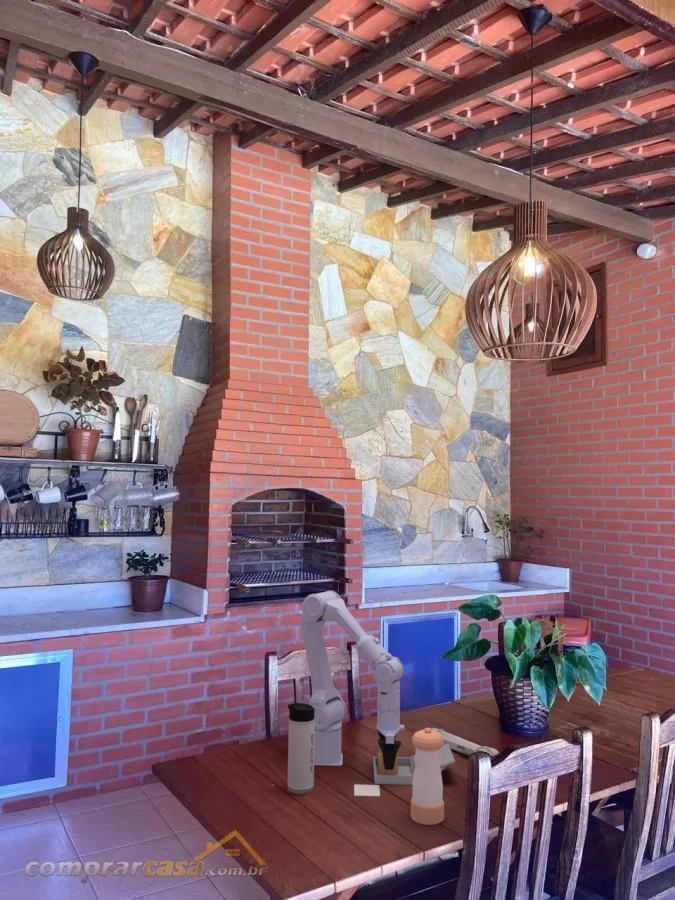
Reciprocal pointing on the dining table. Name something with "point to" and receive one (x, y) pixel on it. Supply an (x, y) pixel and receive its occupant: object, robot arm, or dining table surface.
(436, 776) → the pepper shaker
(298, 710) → the travel mug
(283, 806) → the dining table surface
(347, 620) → the robot arm
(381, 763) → the block
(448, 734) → the white elongated piece
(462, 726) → the dining table surface
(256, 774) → the dining table surface
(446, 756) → the case
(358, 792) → the mat
